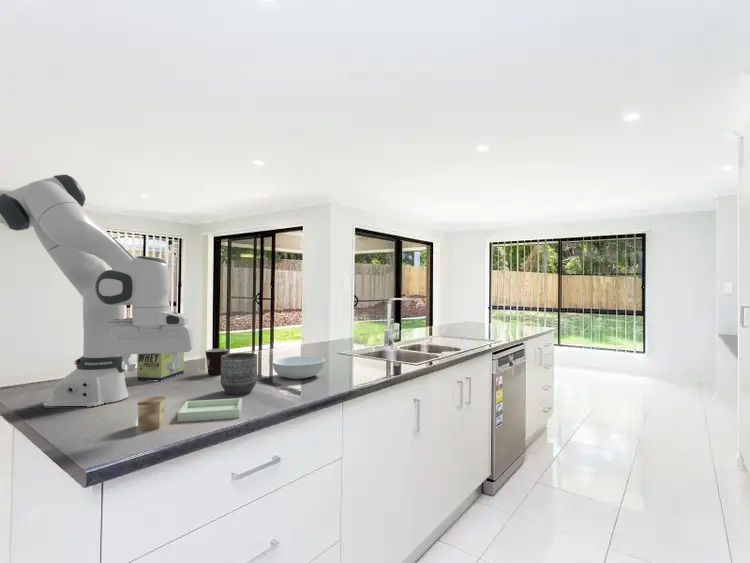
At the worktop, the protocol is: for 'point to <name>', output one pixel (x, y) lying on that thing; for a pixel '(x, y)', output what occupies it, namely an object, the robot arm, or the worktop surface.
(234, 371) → the planter
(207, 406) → the tray
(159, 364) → the protein box
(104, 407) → the worktop surface
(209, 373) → the coffee mug
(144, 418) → the box
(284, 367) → the serving bowl
